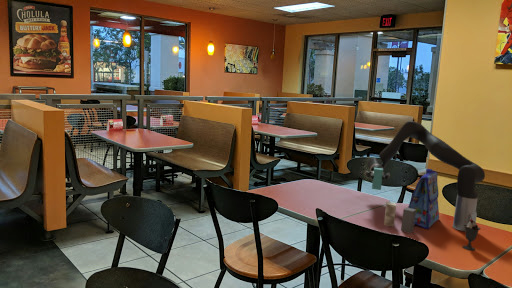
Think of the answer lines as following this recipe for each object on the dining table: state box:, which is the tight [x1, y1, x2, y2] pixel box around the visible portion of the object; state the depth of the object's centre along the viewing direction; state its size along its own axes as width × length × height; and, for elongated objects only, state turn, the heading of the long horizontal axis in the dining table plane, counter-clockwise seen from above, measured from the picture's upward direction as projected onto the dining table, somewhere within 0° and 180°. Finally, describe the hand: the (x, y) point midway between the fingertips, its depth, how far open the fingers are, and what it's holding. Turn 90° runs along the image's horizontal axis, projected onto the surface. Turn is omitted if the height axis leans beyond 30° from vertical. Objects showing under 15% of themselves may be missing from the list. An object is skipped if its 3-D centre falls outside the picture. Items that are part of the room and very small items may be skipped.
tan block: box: [383, 201, 397, 227], centre depth 208 cm, size 4×4×11 cm
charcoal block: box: [400, 207, 416, 234], centre depth 201 cm, size 4×4×11 cm
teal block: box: [371, 167, 383, 191], centre depth 221 cm, size 4×4×11 cm
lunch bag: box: [408, 168, 440, 230], centre depth 215 cm, size 22×14×29 cm, turn 143°
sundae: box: [462, 215, 481, 251], centre depth 183 cm, size 7×7×15 cm
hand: (377, 177), depth 219 cm, fingers closed on teal block, 4 cm apart
